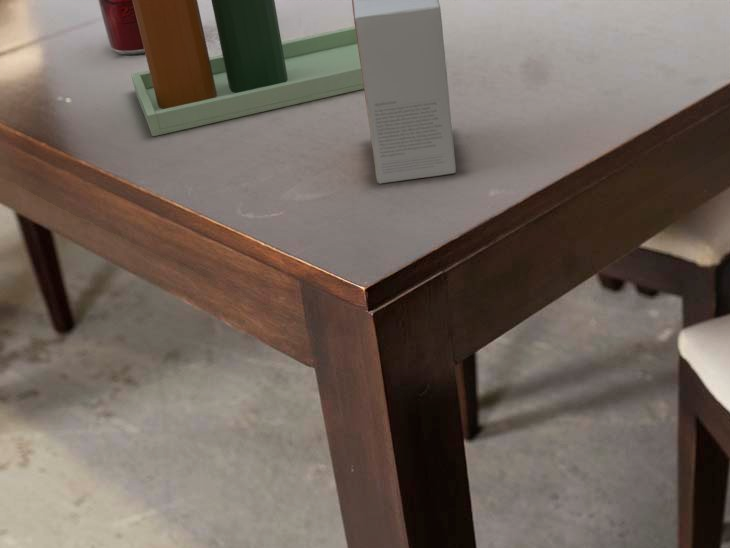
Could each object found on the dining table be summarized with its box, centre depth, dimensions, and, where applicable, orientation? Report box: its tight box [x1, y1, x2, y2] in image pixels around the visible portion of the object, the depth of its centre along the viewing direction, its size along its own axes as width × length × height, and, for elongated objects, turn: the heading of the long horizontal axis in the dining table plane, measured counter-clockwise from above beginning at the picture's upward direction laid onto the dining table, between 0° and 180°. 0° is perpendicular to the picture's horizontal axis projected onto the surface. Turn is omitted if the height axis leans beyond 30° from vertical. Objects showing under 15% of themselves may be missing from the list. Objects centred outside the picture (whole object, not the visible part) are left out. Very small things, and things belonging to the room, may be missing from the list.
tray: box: [130, 25, 364, 137], centre depth 106 cm, size 26×13×2 cm, turn 108°
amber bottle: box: [132, 0, 217, 109], centre depth 101 cm, size 6×6×15 cm
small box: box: [351, 0, 457, 185], centre depth 85 cm, size 8×6×13 cm
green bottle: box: [211, 0, 288, 93], centre depth 102 cm, size 6×6×15 cm
